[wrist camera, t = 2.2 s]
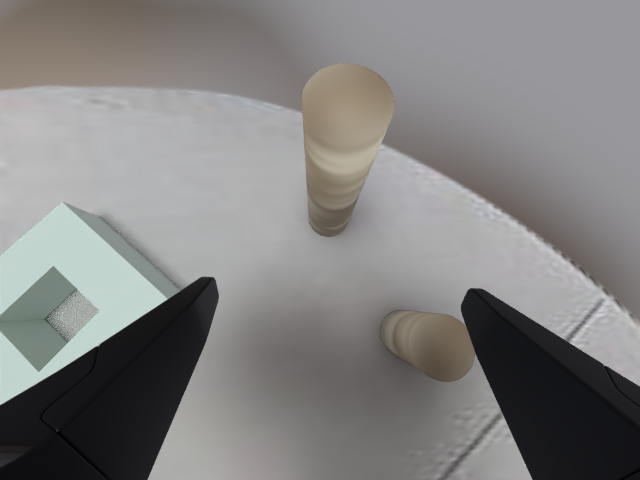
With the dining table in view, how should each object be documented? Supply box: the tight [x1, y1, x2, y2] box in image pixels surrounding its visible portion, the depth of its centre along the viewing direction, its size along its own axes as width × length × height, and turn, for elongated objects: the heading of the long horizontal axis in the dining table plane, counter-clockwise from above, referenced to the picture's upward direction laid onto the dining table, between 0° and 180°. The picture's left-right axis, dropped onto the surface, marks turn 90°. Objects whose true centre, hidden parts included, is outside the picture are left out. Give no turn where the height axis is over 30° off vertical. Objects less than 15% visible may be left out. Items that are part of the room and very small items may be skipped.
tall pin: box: [302, 63, 394, 237], centre depth 17 cm, size 4×4×14 cm
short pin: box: [380, 310, 475, 382], centre depth 18 cm, size 4×4×7 cm
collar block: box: [0, 202, 181, 405], centre depth 19 cm, size 12×12×4 cm
